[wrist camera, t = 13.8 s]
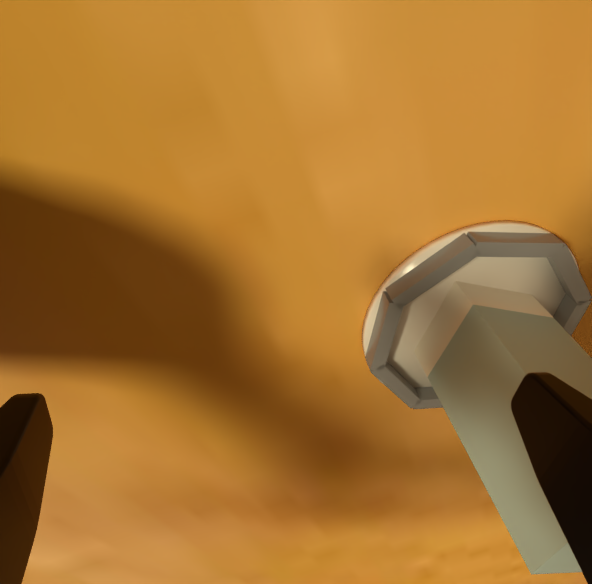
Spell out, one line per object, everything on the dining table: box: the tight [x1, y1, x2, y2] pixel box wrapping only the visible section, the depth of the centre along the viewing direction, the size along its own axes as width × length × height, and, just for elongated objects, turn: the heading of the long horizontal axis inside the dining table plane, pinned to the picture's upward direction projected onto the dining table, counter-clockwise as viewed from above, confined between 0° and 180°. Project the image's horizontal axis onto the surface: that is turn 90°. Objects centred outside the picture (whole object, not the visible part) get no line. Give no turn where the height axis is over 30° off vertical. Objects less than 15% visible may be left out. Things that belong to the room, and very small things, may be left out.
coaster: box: [362, 220, 592, 409], centre depth 26 cm, size 12×12×2 cm
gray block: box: [414, 281, 592, 574], centre depth 22 cm, size 5×5×12 cm
